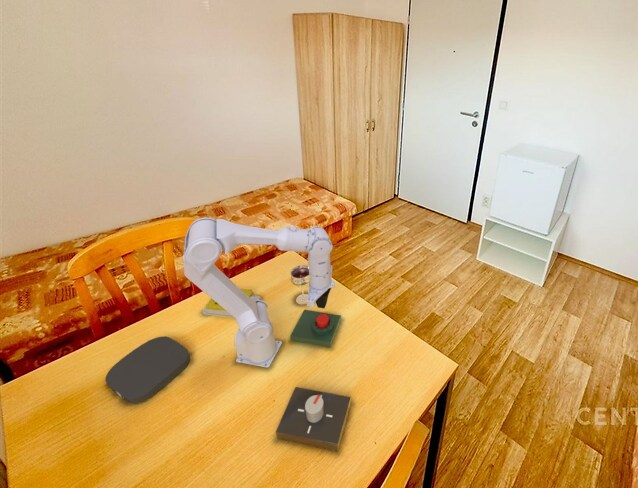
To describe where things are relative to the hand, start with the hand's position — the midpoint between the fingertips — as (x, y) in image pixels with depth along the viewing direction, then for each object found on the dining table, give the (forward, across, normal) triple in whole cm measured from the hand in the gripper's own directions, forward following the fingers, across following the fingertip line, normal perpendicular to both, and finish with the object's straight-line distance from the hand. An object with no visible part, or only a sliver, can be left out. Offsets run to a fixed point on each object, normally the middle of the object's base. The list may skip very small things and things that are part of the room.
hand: (321, 306), depth 92 cm
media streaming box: (+11, -20, +39) cm, 45 cm away
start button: (+7, 0, 0) cm, 7 cm away
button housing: (+10, 0, +2) cm, 11 cm away
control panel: (+10, -24, -7) cm, 27 cm away
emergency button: (+11, +4, +32) cm, 34 cm away
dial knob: (+7, -24, -7) cm, 26 cm away
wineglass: (+11, +11, +11) cm, 19 cm away
